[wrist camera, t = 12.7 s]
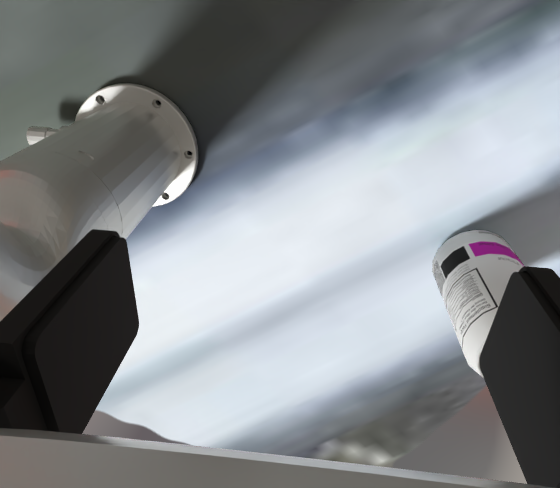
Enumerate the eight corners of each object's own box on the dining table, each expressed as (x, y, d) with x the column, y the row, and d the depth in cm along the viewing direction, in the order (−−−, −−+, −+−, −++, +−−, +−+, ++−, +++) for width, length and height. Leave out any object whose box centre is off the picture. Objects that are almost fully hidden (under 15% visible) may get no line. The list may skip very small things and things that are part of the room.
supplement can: (497, 214, 45) (567, 305, 32) (517, 275, 48) (588, 379, 35) (420, 243, 47) (456, 338, 34) (444, 299, 50) (485, 404, 38)
